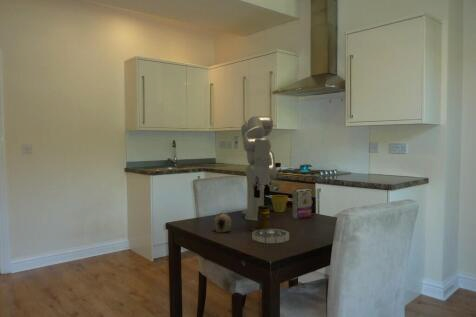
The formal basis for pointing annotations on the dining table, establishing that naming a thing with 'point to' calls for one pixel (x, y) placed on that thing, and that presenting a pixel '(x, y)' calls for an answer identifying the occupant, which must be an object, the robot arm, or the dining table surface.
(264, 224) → the condiment
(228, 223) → the garlic bulb
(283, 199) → the plant pot
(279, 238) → the faceted plate
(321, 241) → the dining table surface
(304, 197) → the candy bar box
